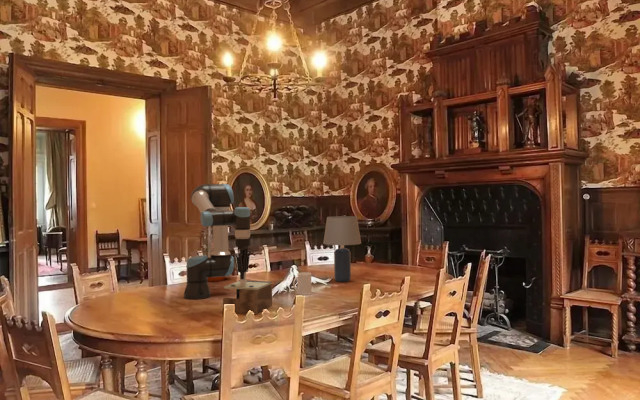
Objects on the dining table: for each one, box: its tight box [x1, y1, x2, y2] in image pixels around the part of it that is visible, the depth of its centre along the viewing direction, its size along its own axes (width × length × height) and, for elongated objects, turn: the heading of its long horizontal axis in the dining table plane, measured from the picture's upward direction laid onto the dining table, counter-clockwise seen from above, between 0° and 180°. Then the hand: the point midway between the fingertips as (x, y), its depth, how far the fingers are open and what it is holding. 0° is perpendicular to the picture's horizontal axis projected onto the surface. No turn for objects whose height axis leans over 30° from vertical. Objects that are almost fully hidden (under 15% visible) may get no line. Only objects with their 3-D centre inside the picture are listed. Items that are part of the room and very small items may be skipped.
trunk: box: [222, 283, 273, 316], centre depth 262 cm, size 18×20×12 cm
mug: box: [292, 272, 313, 296], centre depth 299 cm, size 12×8×12 cm
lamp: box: [323, 215, 362, 283], centre depth 341 cm, size 25×25×43 cm
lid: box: [223, 279, 272, 290], centre depth 262 cm, size 18×18×2 cm
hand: (243, 285), depth 256 cm, fingers closed
